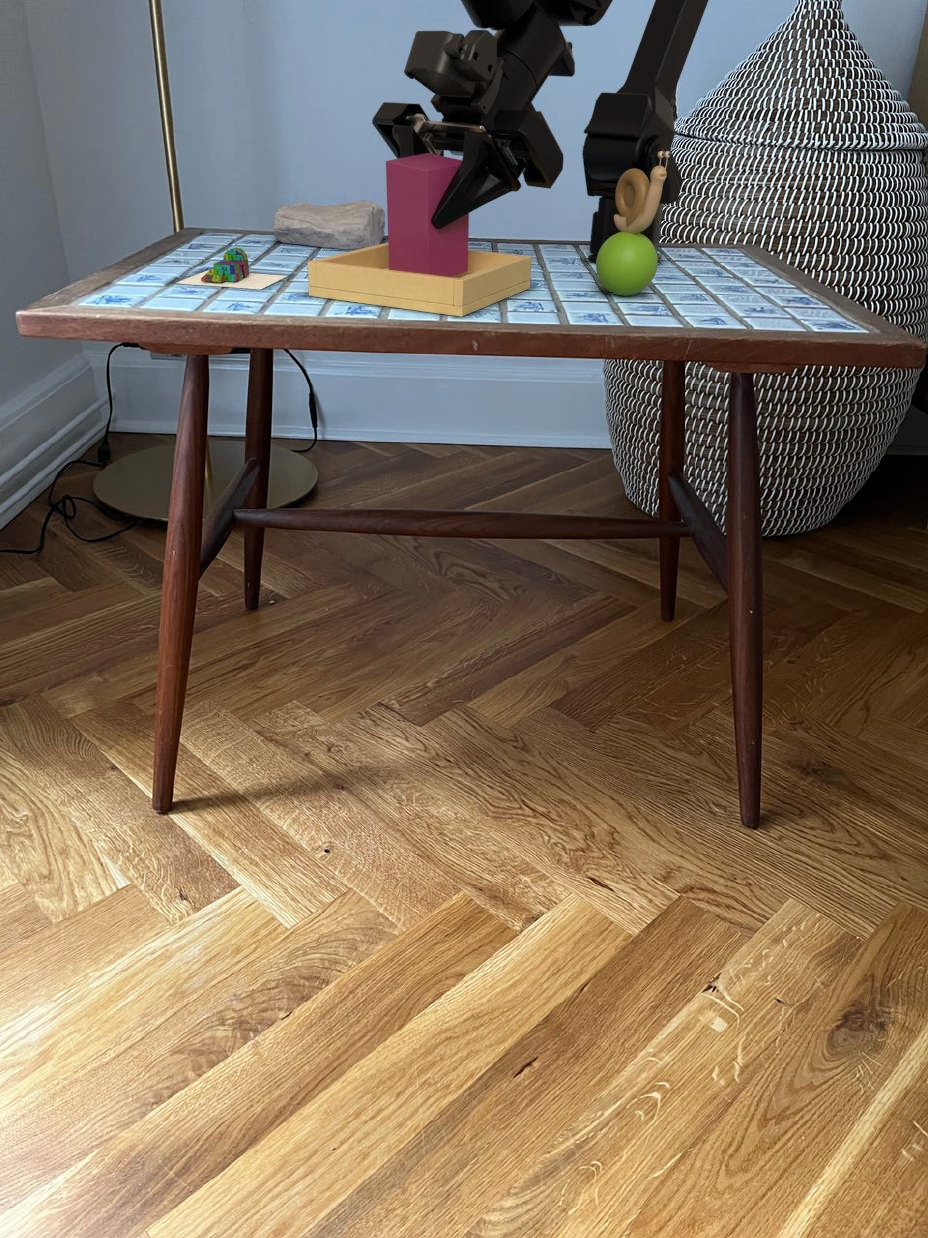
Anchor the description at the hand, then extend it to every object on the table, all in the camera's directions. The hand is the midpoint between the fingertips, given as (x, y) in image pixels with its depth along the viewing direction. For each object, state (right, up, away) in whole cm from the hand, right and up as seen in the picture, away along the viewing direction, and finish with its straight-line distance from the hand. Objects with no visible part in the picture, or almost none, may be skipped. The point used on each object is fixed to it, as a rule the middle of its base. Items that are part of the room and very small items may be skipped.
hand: (412, 221), depth 81 cm
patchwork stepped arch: (-17, -3, +6) cm, 18 cm away
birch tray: (+1, -5, +4) cm, 6 cm away
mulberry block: (+1, -3, +4) cm, 5 cm away
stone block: (-11, +9, +27) cm, 30 cm away
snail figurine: (+19, -5, +5) cm, 20 cm away
